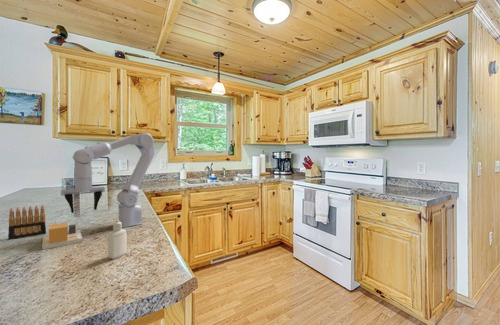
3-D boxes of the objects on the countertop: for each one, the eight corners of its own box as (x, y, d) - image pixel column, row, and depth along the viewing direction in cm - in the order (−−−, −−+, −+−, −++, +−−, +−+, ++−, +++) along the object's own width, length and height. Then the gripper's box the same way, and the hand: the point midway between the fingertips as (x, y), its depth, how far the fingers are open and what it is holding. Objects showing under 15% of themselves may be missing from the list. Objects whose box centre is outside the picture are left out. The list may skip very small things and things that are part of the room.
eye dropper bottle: (129, 254, 74) (129, 218, 74) (109, 260, 70) (109, 222, 70) (125, 250, 77) (124, 216, 77) (106, 255, 73) (105, 219, 73)
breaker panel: (79, 232, 94) (79, 229, 94) (82, 242, 84) (82, 237, 84) (44, 238, 87) (43, 234, 87) (42, 249, 77) (42, 245, 77)
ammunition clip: (8, 239, 86) (7, 208, 86) (9, 238, 87) (8, 207, 87) (45, 234, 93) (45, 205, 92) (46, 232, 94) (45, 204, 94)
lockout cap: (67, 235, 86) (67, 222, 86) (67, 240, 82) (67, 226, 82) (49, 238, 83) (49, 225, 83) (49, 243, 79) (48, 229, 78)
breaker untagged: (75, 230, 92) (75, 224, 92) (75, 232, 90) (75, 226, 90) (68, 231, 91) (68, 225, 91) (69, 233, 88) (69, 227, 88)
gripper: (60, 180, 86) (61, 215, 86) (105, 178, 95) (106, 209, 96) (60, 178, 91) (61, 212, 91) (102, 176, 100) (103, 206, 101)
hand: (84, 210), depth 94 cm, fingers open, 7 cm apart
